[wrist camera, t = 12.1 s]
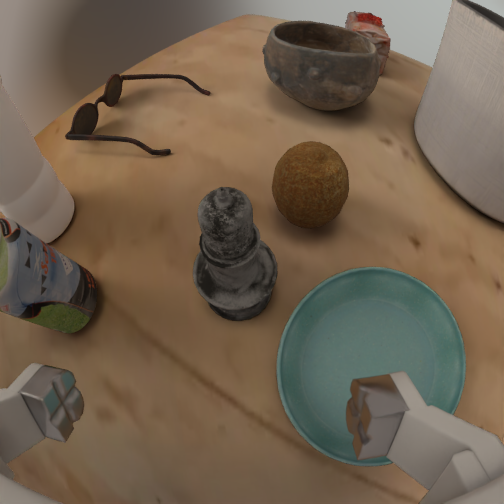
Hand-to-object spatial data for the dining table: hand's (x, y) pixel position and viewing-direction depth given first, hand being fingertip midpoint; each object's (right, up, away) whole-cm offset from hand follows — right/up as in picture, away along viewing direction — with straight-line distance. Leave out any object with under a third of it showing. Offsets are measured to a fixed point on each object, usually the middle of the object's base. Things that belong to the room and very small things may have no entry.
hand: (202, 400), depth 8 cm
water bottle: (-21, +7, +21) cm, 31 cm away
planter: (+32, +16, +24) cm, 43 cm away
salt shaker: (0, +1, +17) cm, 17 cm away
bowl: (+10, +25, +30) cm, 40 cm away
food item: (+21, +38, +37) cm, 57 cm away
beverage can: (-15, -1, +16) cm, 22 cm away
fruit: (+6, +7, +20) cm, 22 cm away
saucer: (+10, -5, +13) cm, 18 cm away
